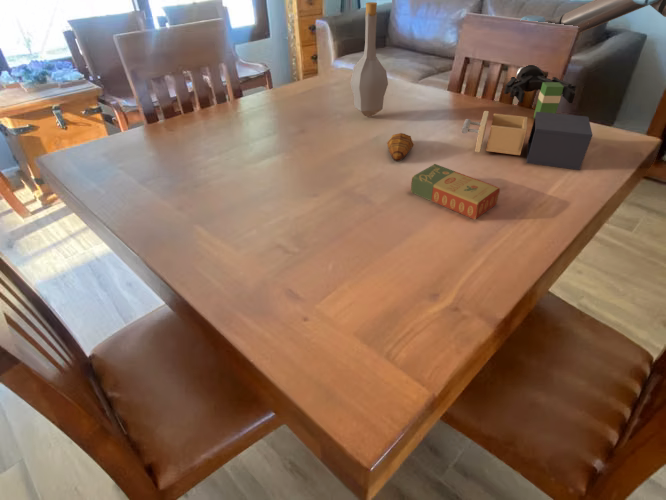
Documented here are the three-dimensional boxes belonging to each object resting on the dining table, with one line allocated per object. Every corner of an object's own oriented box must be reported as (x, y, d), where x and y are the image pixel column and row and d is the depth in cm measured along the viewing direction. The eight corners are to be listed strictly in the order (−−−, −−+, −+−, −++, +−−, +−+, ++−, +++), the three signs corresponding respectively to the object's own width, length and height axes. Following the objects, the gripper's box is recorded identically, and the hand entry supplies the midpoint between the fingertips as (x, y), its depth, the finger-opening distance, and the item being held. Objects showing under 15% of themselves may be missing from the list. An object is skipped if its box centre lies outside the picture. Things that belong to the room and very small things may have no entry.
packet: (549, 117, 125) (559, 82, 119) (553, 122, 122) (564, 86, 116) (532, 117, 126) (542, 82, 119) (536, 122, 122) (546, 86, 116)
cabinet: (526, 163, 102) (535, 128, 97) (527, 144, 111) (536, 111, 105) (579, 170, 99) (592, 134, 94) (576, 150, 107) (588, 116, 102)
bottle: (341, 116, 129) (340, 3, 111) (368, 107, 135) (371, -2, 117) (367, 126, 122) (370, 8, 104) (394, 117, 128) (402, 2, 110)
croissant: (411, 164, 103) (412, 145, 100) (383, 162, 104) (384, 143, 101) (415, 141, 113) (416, 123, 110) (389, 140, 115) (390, 122, 112)
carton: (474, 221, 83) (478, 202, 81) (409, 192, 93) (410, 174, 90) (496, 204, 88) (501, 186, 85) (432, 179, 97) (434, 161, 94)
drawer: (457, 149, 107) (461, 123, 103) (463, 134, 115) (467, 108, 110) (519, 157, 103) (526, 130, 98) (521, 141, 110) (528, 115, 106)
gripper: (565, 88, 139) (588, 111, 122) (486, 88, 141) (499, 110, 125) (572, 64, 134) (598, 84, 118) (491, 64, 137) (504, 84, 120)
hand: (547, 98), depth 121 cm, fingers open, 13 cm apart
